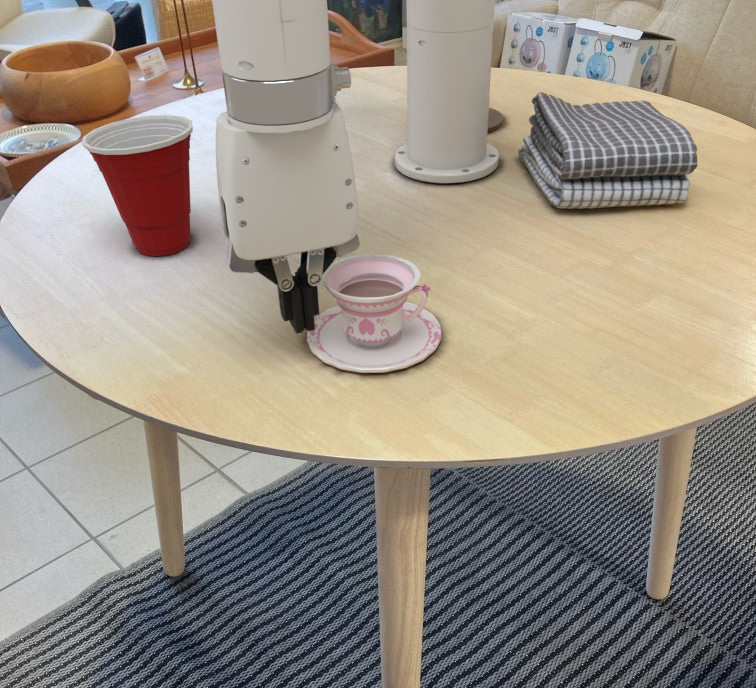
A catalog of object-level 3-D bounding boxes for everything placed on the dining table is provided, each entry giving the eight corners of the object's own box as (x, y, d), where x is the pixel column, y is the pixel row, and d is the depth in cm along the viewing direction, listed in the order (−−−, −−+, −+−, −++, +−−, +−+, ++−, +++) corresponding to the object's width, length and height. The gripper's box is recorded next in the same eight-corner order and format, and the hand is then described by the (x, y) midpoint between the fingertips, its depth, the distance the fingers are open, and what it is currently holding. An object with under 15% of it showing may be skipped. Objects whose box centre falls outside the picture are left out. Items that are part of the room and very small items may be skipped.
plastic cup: (175, 212, 96) (152, 100, 88) (233, 241, 91) (215, 124, 82) (90, 245, 91) (58, 129, 83) (147, 278, 85) (118, 157, 77)
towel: (556, 220, 92) (564, 146, 87) (516, 155, 105) (521, 88, 100) (692, 209, 93) (709, 135, 88) (636, 146, 106) (647, 79, 101)
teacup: (292, 370, 73) (285, 306, 68) (322, 299, 81) (317, 238, 77) (433, 380, 71) (434, 315, 67) (448, 306, 80) (450, 244, 75)
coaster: (416, 115, 117) (416, 111, 116) (483, 104, 119) (483, 100, 119) (445, 140, 110) (446, 135, 109) (516, 128, 112) (516, 123, 112)
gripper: (361, 66, 64) (369, 288, 77) (164, 92, 61) (205, 320, 73) (397, 95, 59) (399, 328, 71) (182, 125, 56) (223, 365, 68)
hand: (300, 324), depth 72 cm, fingers closed
